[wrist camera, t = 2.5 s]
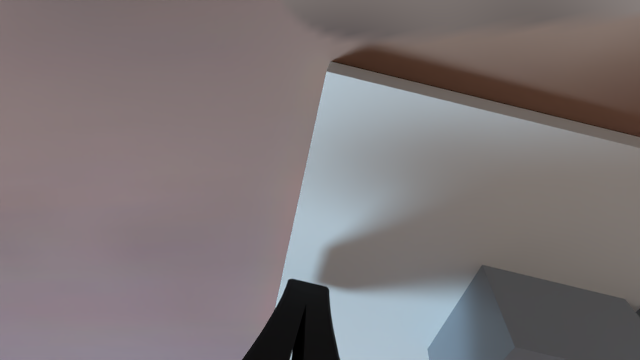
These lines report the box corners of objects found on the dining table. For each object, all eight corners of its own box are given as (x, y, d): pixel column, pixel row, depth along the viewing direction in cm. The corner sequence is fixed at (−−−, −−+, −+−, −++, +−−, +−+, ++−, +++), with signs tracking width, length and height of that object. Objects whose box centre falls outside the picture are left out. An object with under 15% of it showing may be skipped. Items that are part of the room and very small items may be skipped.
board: (614, 424, 17) (629, 452, 16) (269, 342, 17) (262, 365, 16) (925, 207, 10) (988, 233, 9) (330, 61, 10) (326, 71, 9)
